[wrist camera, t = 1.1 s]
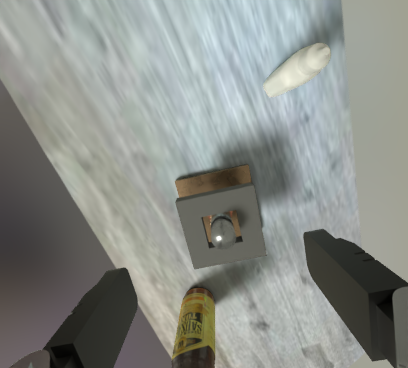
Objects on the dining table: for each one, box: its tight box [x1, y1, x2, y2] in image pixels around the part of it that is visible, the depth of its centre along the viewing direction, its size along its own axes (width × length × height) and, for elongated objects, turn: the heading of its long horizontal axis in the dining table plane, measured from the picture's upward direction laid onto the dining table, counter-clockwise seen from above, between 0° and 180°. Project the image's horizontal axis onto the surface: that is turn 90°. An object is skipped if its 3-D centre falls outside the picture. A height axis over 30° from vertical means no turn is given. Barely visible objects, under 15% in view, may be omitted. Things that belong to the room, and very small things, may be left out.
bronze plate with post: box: [175, 164, 252, 249], centre depth 30 cm, size 12×12×11 cm
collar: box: [175, 182, 267, 269], centre depth 28 cm, size 10×10×2 cm
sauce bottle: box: [172, 288, 215, 368], centre depth 31 cm, size 7×6×20 cm
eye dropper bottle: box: [263, 43, 331, 97], centre depth 25 cm, size 4×6×12 cm
